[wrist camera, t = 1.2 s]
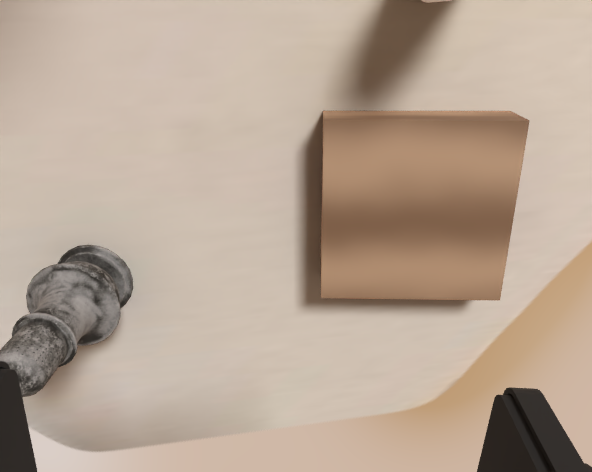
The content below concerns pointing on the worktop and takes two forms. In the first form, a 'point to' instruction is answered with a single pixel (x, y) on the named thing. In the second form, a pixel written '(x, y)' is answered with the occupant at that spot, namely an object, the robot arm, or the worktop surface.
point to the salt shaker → (67, 313)
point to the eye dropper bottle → (429, 0)
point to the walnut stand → (418, 203)
